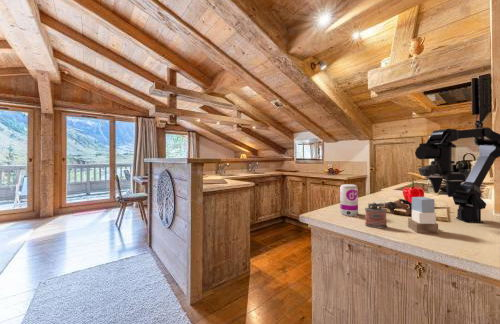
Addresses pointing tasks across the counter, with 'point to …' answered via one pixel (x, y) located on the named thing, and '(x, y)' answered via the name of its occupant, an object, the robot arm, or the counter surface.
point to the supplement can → (348, 200)
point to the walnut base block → (422, 227)
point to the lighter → (376, 215)
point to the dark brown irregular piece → (399, 202)
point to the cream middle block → (424, 217)
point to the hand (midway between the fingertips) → (442, 194)
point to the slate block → (423, 204)
